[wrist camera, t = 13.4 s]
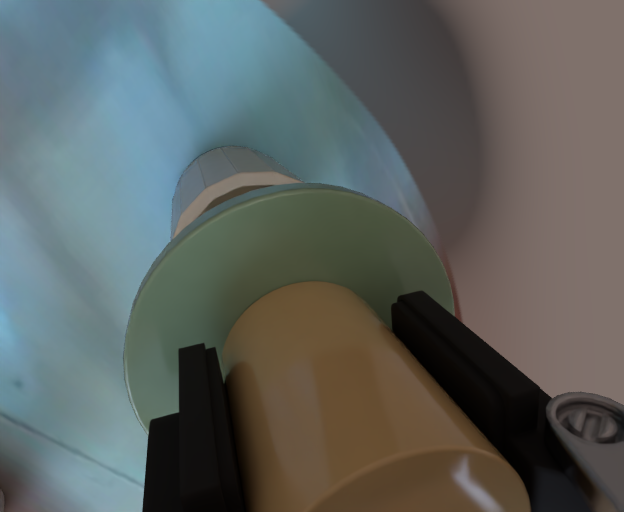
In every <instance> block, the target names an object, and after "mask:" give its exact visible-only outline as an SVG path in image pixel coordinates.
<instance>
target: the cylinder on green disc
mask: <svg viewBox="0 0 624 512" xmlns="http://www.w3.org/2000/svg"><path fill="white" fill-rule="evenodd" d="M421 290H422V291H424V292H425V293H427V294H428V295H429V296H430V297H431V298H433V299H434V300H435V301H436V302H437V303H439V304H440V305H441V306H442V307H444V308H445V309H446V310H447V311H448V312H450V313H451V314H452V315H453V316H454V317H455V313H454V300H453V295H452V290H451V286H450V282H449V279H448V276H447V273H446V271H445V268H444V265H443V263H442V261H441V259H440V258H439V256H438V254H437V252H436V251H435V249H434V247H433V246H432V245H431V243H430V242H429V241H428V240H427V238H426V237H425V236H424V234H423V233H422V232H421V231H420V230H419V229H418V228H417V227H416V226H414V225H413V224H412V223H411V222H410V221H409V220H408V219H407V218H405V217H404V216H402V215H401V214H399V213H398V212H396V211H395V210H393V209H392V208H390V207H389V206H387V205H385V204H383V203H382V202H380V201H378V200H375V199H373V198H371V197H369V196H367V195H365V194H363V193H360V192H357V191H354V190H351V189H347V188H344V187H340V186H334V185H328V184H321V183H291V184H282V185H274V186H269V187H265V188H261V189H257V190H253V191H250V192H247V193H245V194H242V195H239V196H237V197H234V198H232V199H229V200H227V201H225V202H223V203H221V204H220V205H218V206H216V207H214V208H212V209H210V210H209V211H207V212H205V213H204V214H203V215H201V216H200V217H198V218H197V219H196V220H194V221H193V222H192V223H190V224H189V225H187V226H186V227H185V228H184V229H183V230H182V231H181V232H180V233H179V234H178V235H177V236H176V237H175V238H173V239H172V240H171V241H170V242H169V243H168V245H167V246H166V247H165V248H164V249H163V251H162V252H161V253H160V254H159V256H158V257H157V258H156V259H155V261H154V262H153V264H152V265H151V267H150V269H149V270H148V272H147V274H146V275H145V277H144V279H143V280H142V282H141V285H140V287H139V289H138V292H137V294H136V297H135V299H134V301H133V305H132V309H131V313H130V316H129V320H128V325H127V330H126V334H125V343H124V353H123V366H124V380H125V384H126V388H127V393H128V397H129V401H130V403H131V405H132V408H133V410H134V413H135V415H136V417H137V419H138V421H139V422H140V424H141V426H142V427H143V429H144V430H145V432H146V434H147V435H149V425H150V421H151V420H152V419H155V418H159V417H162V416H166V415H170V414H174V413H177V412H179V362H178V350H179V348H184V347H188V346H192V345H196V344H200V343H204V344H205V347H206V349H208V348H212V347H216V351H217V356H218V360H219V364H220V369H221V373H222V377H223V382H224V387H225V393H226V399H227V405H228V411H229V418H230V424H231V430H232V436H233V442H234V449H235V455H236V461H237V467H238V473H239V479H240V486H241V492H242V498H243V504H244V510H245V512H531V504H530V499H529V495H528V492H527V490H526V487H525V484H524V482H523V480H522V479H521V477H520V476H519V474H518V472H517V471H516V470H515V469H514V468H513V467H512V466H511V464H510V463H509V462H508V461H507V460H506V459H505V458H504V457H503V455H502V454H501V453H500V452H499V451H498V450H497V449H496V448H495V446H494V445H493V444H492V443H491V442H490V441H489V440H488V438H487V437H486V436H485V435H484V434H483V433H482V432H481V431H480V429H479V428H478V427H477V426H476V425H475V424H474V423H473V422H472V420H471V419H470V418H469V417H468V416H467V415H466V414H465V412H464V411H463V410H462V409H461V408H460V407H459V406H458V405H457V403H456V402H455V401H454V400H453V399H452V398H451V397H450V396H449V394H448V393H447V392H446V391H445V390H444V389H443V388H442V387H441V385H440V384H439V383H438V382H437V381H436V380H435V379H434V377H433V376H432V375H431V374H430V373H429V372H428V371H427V370H426V368H425V367H424V366H423V365H422V364H421V363H420V362H419V361H418V359H417V358H416V357H415V356H414V355H413V354H412V353H411V352H410V350H409V349H408V348H407V347H406V346H405V345H404V344H403V342H402V341H401V340H400V339H399V338H398V337H397V336H396V335H395V333H394V332H393V331H392V319H391V305H392V304H393V303H396V302H397V298H398V296H400V295H404V294H408V293H412V292H416V291H421Z"/></svg>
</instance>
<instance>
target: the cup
mask: <svg viewBox="0 0 624 512" xmlns="http://www.w3.org/2000/svg"><path fill="white" fill-rule="evenodd" d="M291 183H305V182H304V181H302V180H301V179H300V178H298V177H297V176H296V175H294V174H293V173H292V172H290V171H289V170H287V169H286V168H285V167H283V166H282V165H281V164H279V163H278V162H277V161H275V160H274V159H273V158H271V157H270V156H268V155H266V154H264V153H261V152H259V151H257V150H254V149H251V148H248V147H242V146H226V147H221V148H216V149H214V150H211V151H208V152H206V153H205V154H203V155H201V156H200V157H198V158H197V159H195V160H194V161H193V162H192V163H191V164H190V165H189V166H188V167H187V168H186V170H185V171H184V172H183V174H182V175H181V177H180V179H179V181H178V184H177V186H176V189H175V193H174V196H173V199H172V216H171V236H170V241H171V240H172V239H173V238H175V237H176V236H177V235H178V234H179V233H180V232H181V231H182V230H183V229H184V228H185V227H186V226H187V225H189V224H190V223H192V222H193V221H194V220H196V219H197V218H198V217H200V216H201V215H203V214H204V213H205V212H207V211H209V210H210V209H212V208H214V207H216V206H218V205H220V204H221V203H223V202H225V201H227V200H229V199H232V198H234V197H237V196H239V195H242V194H245V193H247V192H250V191H253V190H257V189H261V188H265V187H269V186H274V185H282V184H291Z"/></svg>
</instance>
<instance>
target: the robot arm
mask: <svg viewBox="0 0 624 512" xmlns="http://www.w3.org/2000/svg"><path fill="white" fill-rule="evenodd" d="M391 319H392V331H393V332H394V333H395V335H396V336H397V337H398V338H399V339H400V340H401V341H402V342H403V344H404V345H405V346H406V347H407V348H408V349H409V350H410V352H411V353H412V354H413V355H414V356H415V357H416V358H417V359H418V361H419V362H420V363H421V364H422V365H423V366H424V367H425V368H426V370H427V371H428V372H429V373H430V374H431V375H432V376H433V377H434V379H435V380H436V381H437V382H438V383H439V384H440V385H441V387H442V388H443V389H444V390H445V391H446V392H447V393H448V394H449V396H450V397H451V398H452V399H453V400H454V401H455V402H456V403H457V405H458V406H459V407H460V408H461V409H462V410H463V411H464V412H465V414H466V415H467V416H468V417H469V418H470V419H471V420H472V422H473V423H474V424H475V425H476V426H477V427H478V428H479V429H480V431H481V432H482V433H483V434H484V435H485V436H486V437H487V438H488V440H489V441H490V442H491V443H492V444H493V445H494V446H495V448H496V449H497V450H498V451H499V452H500V453H501V454H502V455H503V457H504V458H505V459H506V460H507V461H508V462H509V463H510V464H511V466H512V467H513V468H514V469H515V470H516V471H517V472H518V474H519V476H520V477H521V479H522V480H523V482H524V484H525V487H526V490H527V492H528V495H529V499H530V504H531V512H624V405H622V404H620V403H618V402H616V401H614V400H612V399H610V398H607V397H603V396H600V395H597V394H592V393H585V392H568V393H564V394H561V395H557V396H556V397H554V398H553V399H552V398H551V397H550V396H549V395H548V394H546V393H545V392H544V391H543V390H541V389H540V387H539V386H538V385H537V384H535V383H534V382H533V381H532V380H530V379H529V378H528V377H527V376H525V375H524V374H523V373H522V372H521V371H519V370H518V369H517V368H516V367H515V366H514V365H512V364H511V363H510V362H509V361H508V360H506V359H505V358H504V357H503V356H501V355H500V354H499V353H498V352H497V351H495V350H494V349H493V348H492V347H491V346H489V345H488V344H487V343H486V342H484V341H483V340H482V339H481V338H480V337H479V336H477V335H476V334H475V333H474V332H472V331H471V330H470V329H469V328H468V327H466V326H465V325H464V324H463V323H462V322H460V321H459V320H458V319H457V318H456V317H454V316H453V315H452V314H451V313H450V312H448V311H447V310H446V309H445V308H444V307H442V306H441V305H440V304H439V303H437V302H436V301H435V300H434V299H433V298H431V297H430V296H429V295H428V294H427V293H425V292H424V291H422V290H421V291H416V292H412V293H408V294H404V295H400V296H398V298H397V302H396V303H393V304H392V305H391ZM178 362H179V412H177V413H174V414H170V415H166V416H162V417H159V418H155V419H152V420H151V421H150V425H149V435H148V448H147V460H146V473H145V486H144V498H143V511H142V512H245V510H244V504H243V498H242V492H241V486H240V479H239V473H238V467H237V461H236V455H235V449H234V442H233V436H232V430H231V424H230V418H229V411H228V405H227V399H226V393H225V387H224V382H223V377H222V373H221V369H220V364H219V360H218V356H217V351H216V347H212V348H208V349H206V347H205V344H204V343H200V344H196V345H192V346H188V347H184V348H179V350H178Z"/></svg>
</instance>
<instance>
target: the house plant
mask: <svg viewBox="0 0 624 512" xmlns="http://www.w3.org/2000/svg"><path fill="white" fill-rule="evenodd" d="M4 505H5V500H4V494H3V492H2V490H1V488H0V512H3V511H4Z"/></svg>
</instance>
